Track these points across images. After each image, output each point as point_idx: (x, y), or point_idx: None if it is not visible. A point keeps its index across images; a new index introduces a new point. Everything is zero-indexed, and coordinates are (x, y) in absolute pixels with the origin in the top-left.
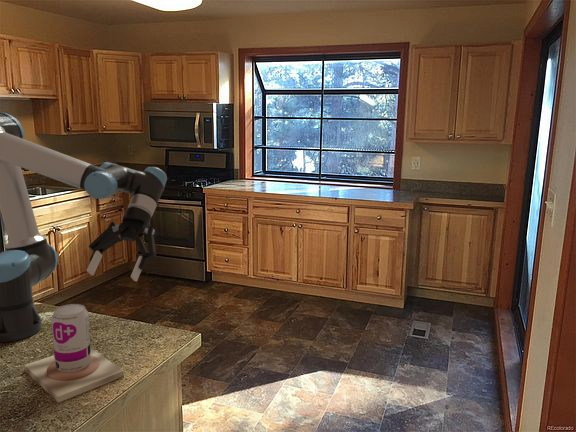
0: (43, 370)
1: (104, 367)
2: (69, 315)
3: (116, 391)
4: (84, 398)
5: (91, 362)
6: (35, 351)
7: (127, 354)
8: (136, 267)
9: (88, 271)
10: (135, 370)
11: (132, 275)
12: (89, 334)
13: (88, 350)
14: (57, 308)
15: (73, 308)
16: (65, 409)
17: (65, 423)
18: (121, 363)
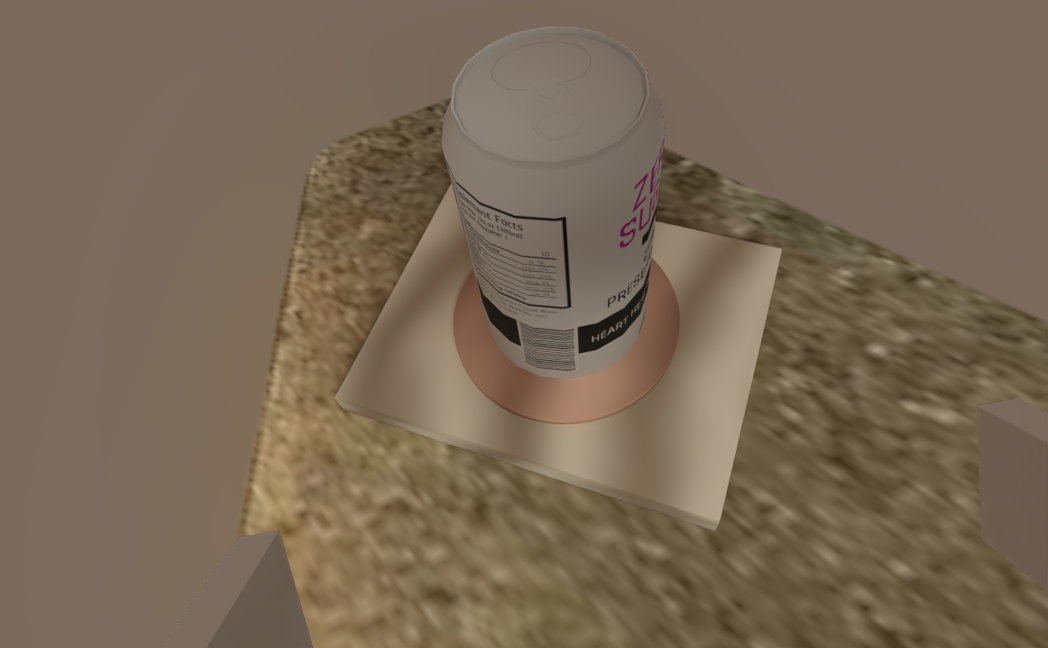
0: (664, 256)
1: (436, 381)
2: (481, 52)
3: (307, 318)
4: (392, 243)
5: (510, 368)
6: (929, 393)
7: (458, 590)
8: (171, 641)
9: (991, 419)
10: (320, 473)
11: (245, 545)
12: (497, 287)
13: (482, 296)
14: (643, 73)
15: (547, 114)
16: (408, 183)
17: (358, 146)
18: (426, 495)
